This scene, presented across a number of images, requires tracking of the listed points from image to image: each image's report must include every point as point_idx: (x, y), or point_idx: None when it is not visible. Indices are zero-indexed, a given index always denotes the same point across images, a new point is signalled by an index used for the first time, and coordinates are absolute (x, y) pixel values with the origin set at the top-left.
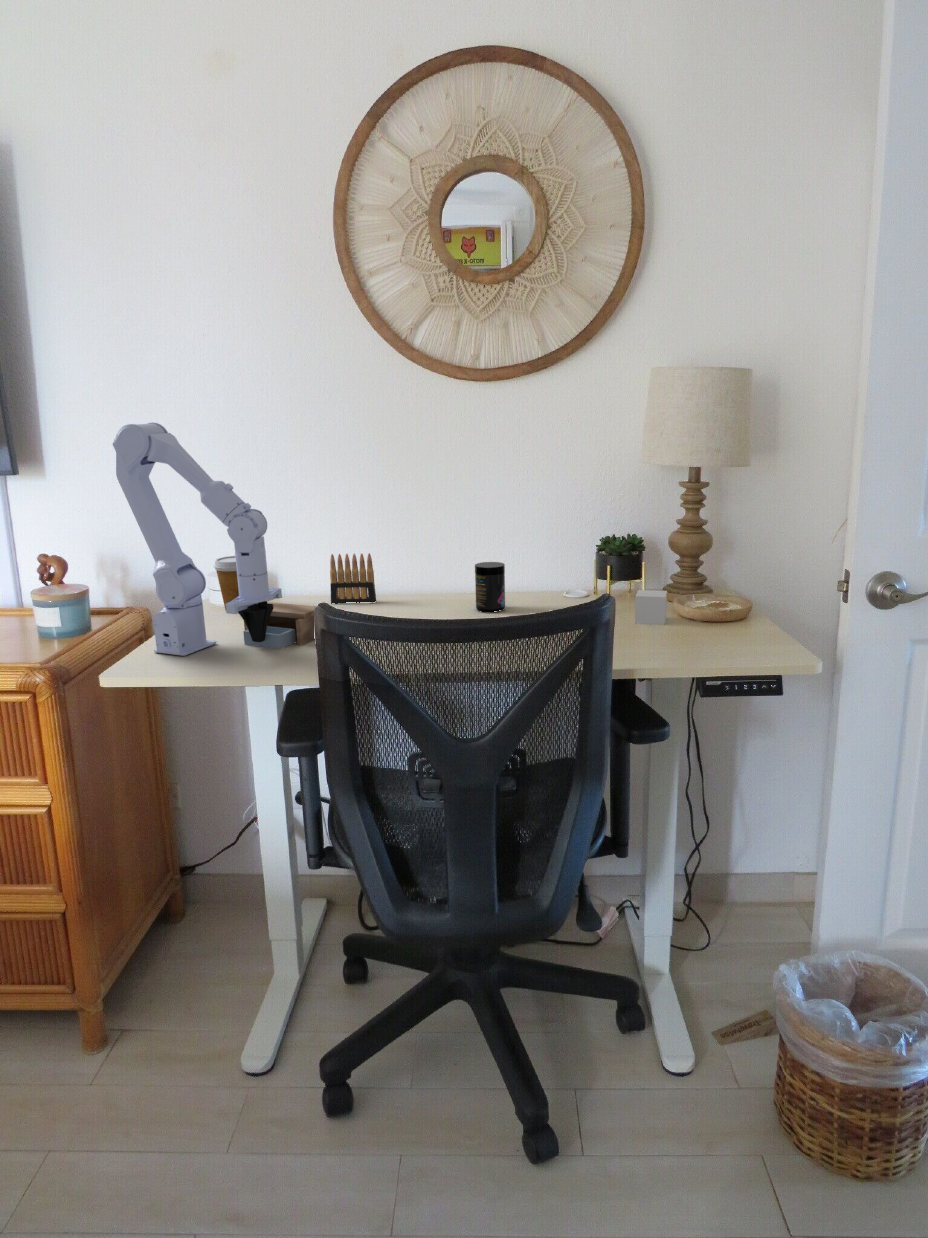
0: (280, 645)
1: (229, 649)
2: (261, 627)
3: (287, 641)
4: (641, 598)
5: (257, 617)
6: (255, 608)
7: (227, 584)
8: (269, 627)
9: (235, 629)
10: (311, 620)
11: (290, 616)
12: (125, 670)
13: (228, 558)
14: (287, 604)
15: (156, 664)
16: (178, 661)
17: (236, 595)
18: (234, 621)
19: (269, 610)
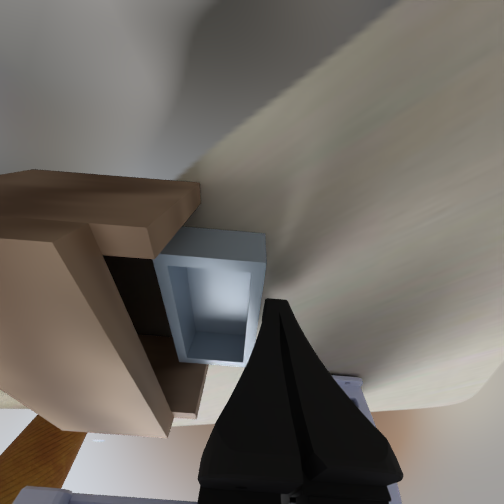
0: (265, 240)
1: None
2: (298, 343)
3: (222, 238)
4: None
5: (357, 411)
6: (340, 490)
7: (53, 485)
8: (183, 335)
9: None
10: (30, 204)
11: (121, 315)
12: (439, 400)
13: None
14: (14, 391)
15: (409, 386)
16: (392, 371)
17: (60, 447)
18: None
19: (263, 427)
